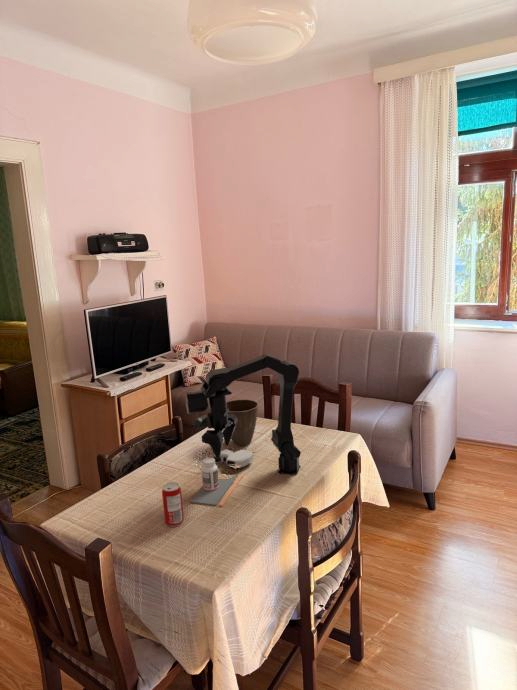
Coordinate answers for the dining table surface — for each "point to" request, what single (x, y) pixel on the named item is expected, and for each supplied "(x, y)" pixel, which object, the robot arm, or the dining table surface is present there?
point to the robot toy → (235, 457)
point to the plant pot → (243, 420)
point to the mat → (213, 493)
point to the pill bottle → (210, 474)
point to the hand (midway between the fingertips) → (222, 451)
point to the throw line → (230, 491)
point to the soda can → (172, 504)
